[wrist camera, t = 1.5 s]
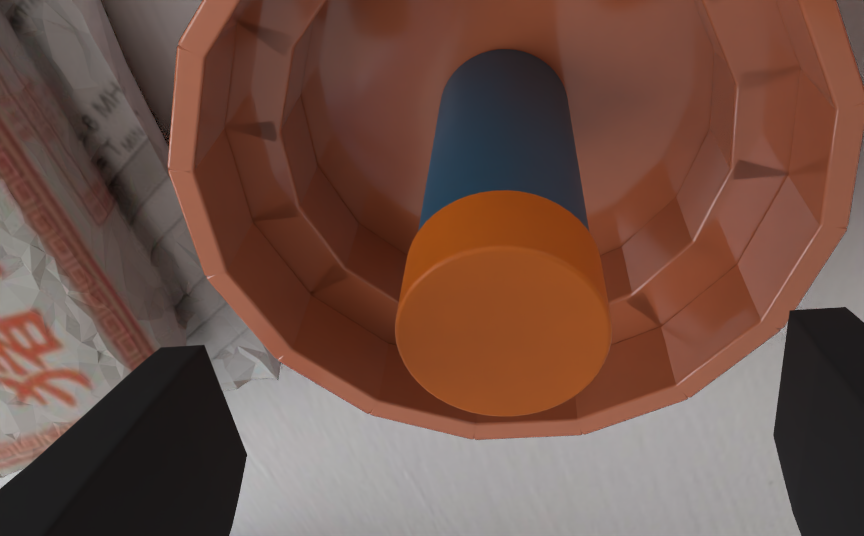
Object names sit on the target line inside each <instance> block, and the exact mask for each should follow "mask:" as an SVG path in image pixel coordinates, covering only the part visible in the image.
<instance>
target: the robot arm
mask: <svg viewBox="0 0 864 536" xmlns="http://www.w3.org/2000/svg"><path fill="white" fill-rule="evenodd" d="M774 440H775V444H776V448H777V452H778V456H779V460H780V464H781V468H782V472H783V477H784V480H785V484H786V488H787V492H788V496H789V499H790V503H791V507H792V511H793V514H794V517H795V520H796V522H797V525H798V528H799V530H800V533H801V535H802V536H864V322H862V321H861V320H860V319H859V318H858V317H857V316H855V315H854V314H853V313H852V312H851V311H849V310H848V309H847V308H846V307H841V308H824V309H807V310H790V312H789V319H788V327H787V335H786V343H785V350H784V358H783V366H782V373H781V381H780V389H779V397H778V404H777V412H776V420H775V427H774ZM246 457H247V454H246V451H245V448H244V446H243V443H242V441H241V438H240V435H239V433H238V430H237V428H236V425H235V423H234V420H233V417H232V415H231V412H230V410H229V407H228V405H227V402H226V399H225V397H224V394H223V392H222V389H221V386H220V384H219V381H218V379H217V376H216V374H215V371H214V368H213V366H212V363H211V361H210V358H209V356H208V353H207V350H206V348H205V345H193V346H176V347H160V348H159V349H158V350H157V351H155V352H154V353H153V354H152V355H151V356H149V357H148V358H147V359H146V360H145V361H143V362H142V363H141V364H140V365H139V366H138V367H136V368H135V369H134V370H133V371H132V372H131V373H130V374H129V375H127V376H126V377H125V378H124V379H123V380H122V381H121V382H120V383H119V384H118V385H116V386H115V387H114V388H113V389H112V390H111V391H110V392H109V393H108V394H107V395H105V396H104V397H103V398H102V399H101V400H100V401H99V402H98V403H97V404H96V405H95V406H93V407H92V408H91V409H90V410H89V411H88V412H87V413H86V414H85V415H84V416H83V417H81V418H80V419H79V420H78V421H77V422H76V423H75V424H74V425H73V426H71V427H70V428H69V429H68V430H67V431H66V432H65V433H64V434H63V435H61V436H60V437H59V438H58V439H57V440H56V441H55V442H54V443H53V444H52V445H50V446H49V447H48V448H47V449H46V450H45V451H44V452H43V453H42V454H40V455H39V456H38V457H37V458H36V459H35V460H34V461H33V462H32V463H30V464H29V465H28V466H27V467H26V468H25V469H23V470H22V471H21V472H20V473H19V474H17V475H16V476H15V477H14V478H13V479H11V480H10V481H9V482H8V483H7V484H6V485H4V486H3V487H2V488H1V489H0V536H229V534H230V531H231V528H232V524H233V520H234V516H235V511H236V507H237V502H238V498H239V493H240V488H241V483H242V478H243V473H244V468H245V462H246Z"/></svg>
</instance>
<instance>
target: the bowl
mask: <svg viewBox="0 0 864 536" xmlns="http://www.w3.org/2000/svg"><path fill="white" fill-rule="evenodd" d="M498 49H511V50H518V51H523V52H526V53H529V54H532V55H534V56H536V57H538V58H539V59H541V60H542V61H544V62H545V63H547V64H548V65H549V66H550V67H551V68H552V69H553V70H554V71H555V73H556V74H557V75H558V77H559V78H560V80H561V81H562V83H563V86H564V88H565V91H566V94H567V99H568V105H569V111H570V117H571V123H572V129H573V135H574V141H575V147H576V153H577V159H578V166H579V172H580V178H581V184H582V190H583V196H584V202H585V208H586V214H587V220H588V226H589V233H590V234H591V236H592V237H593V239H594V241H595V243H596V246H597V248H598V251H599V255H600V258H601V263H602V269H603V275H604V280H605V286H606V292H607V297H608V303H609V309H610V314H611V321H612V341H611V346H610V350H609V353H608V356H607V358H606V360H605V363H604V365H603V366H602V368H601V369H600V371H599V373H598V374H597V376H596V377H595V378H594V379H593V380H592V382H591V383H590V384H589V385H588V386H587V387H585V388H584V389H583V390H582V391H581V392H580V393H578V394H577V395H575V396H574V397H573V398H571V399H569V400H568V401H566V402H564V403H562V404H560V405H558V406H555V407H553V408H551V409H548V410H544V411H541V412H538V413H533V414H528V415H521V416H488V415H481V414H476V413H472V412H468V411H465V410H462V409H459V408H456V407H454V406H451V405H449V404H447V403H445V402H443V401H442V400H440V399H438V398H436V397H435V396H434V395H432V394H431V393H429V392H428V391H427V390H425V389H424V388H423V387H422V386H421V385H420V384H419V383H418V382H417V381H416V380H415V379H414V377H413V376H412V375H411V374H410V372H409V371H408V369H407V368H406V366H405V364H404V362H403V360H402V358H401V356H400V354H399V351H398V347H397V344H396V337H395V320H396V314H397V309H398V303H399V298H400V293H401V287H402V282H403V276H404V271H405V266H406V260H407V256H408V252H409V249H410V246H411V244H412V241H413V240H414V238H415V236H416V234H417V233H418V229H419V223H420V217H421V211H422V206H423V200H424V194H425V188H426V182H427V177H428V171H429V165H430V159H431V154H432V148H433V142H434V136H435V130H436V125H437V119H438V113H439V107H440V102H441V97H442V93H443V90H444V88H445V86H446V84H447V82H448V80H449V79H450V77H451V76H452V74H453V73H454V72H455V71H456V70H457V69H458V68H459V67H460V66H461V65H462V64H463V63H465V62H466V61H468V60H469V59H471V58H472V57H474V56H477V55H479V54H481V53H484V52H487V51H492V50H498ZM863 131H864V85H863V82H862V79H861V75H860V72H859V69H858V66H857V63H856V60H855V57H854V54H853V50H852V47H851V44H850V41H849V38H848V35H847V32H846V29H845V25H844V22H843V19H842V16H841V13H840V10H839V7H838V4H837V0H202V2H201V4H200V5H199V7H198V9H197V10H196V12H195V14H194V16H193V17H192V19H191V21H190V22H189V24H188V26H187V28H186V29H185V31H184V33H183V34H182V36H181V38H180V40H179V45H178V46H177V51H176V64H175V76H174V88H173V101H172V113H171V126H170V138H169V151H168V163H167V167H168V168H169V169H168V173H169V176H170V179H171V181H172V184H173V187H174V190H175V193H176V196H177V198H178V201H179V204H180V207H181V210H182V213H183V215H184V218H185V221H186V224H187V227H188V230H189V232H190V235H191V238H192V241H193V244H194V247H195V250H196V252H197V255H198V258H199V261H200V264H201V267H202V269H203V272H204V275H205V276H206V278H207V280H208V281H209V282H210V283H211V284H212V286H213V287H214V288H215V289H216V290H217V291H218V293H219V294H220V295H221V296H222V297H223V298H224V300H225V301H226V302H227V303H228V304H229V305H230V307H231V308H232V309H233V310H234V311H235V312H236V313H237V315H238V316H239V317H240V318H241V319H242V320H243V322H244V323H245V324H246V325H247V326H248V327H249V329H250V330H251V331H252V332H253V333H254V334H255V336H256V337H257V338H258V339H259V340H260V341H261V342H262V344H263V345H264V346H265V347H266V348H267V349H268V351H269V352H270V353H271V354H272V355H273V356H274V358H276V359H278V361H279V362H281V363H282V364H284V365H286V366H287V367H289V368H291V369H293V370H294V371H296V372H298V373H299V374H301V375H303V376H304V377H306V378H308V379H310V380H311V381H313V382H315V383H316V384H318V385H320V386H321V387H323V388H325V389H327V390H328V391H330V392H332V393H333V394H335V395H337V396H338V397H340V398H342V399H343V400H345V401H347V402H349V403H350V404H352V405H354V406H355V407H357V408H359V409H360V410H362V411H364V412H366V413H368V414H369V413H370V414H371V415H373V416H377V417H381V418H385V419H389V420H393V421H398V422H402V423H406V424H410V425H414V426H418V427H422V428H427V429H431V430H435V431H439V432H443V433H447V434H451V435H456V436H460V437H464V438H468V439H475V440H484V439H506V438H529V437H551V436H573V435H582V433H583V434H588V433H591V432H594V431H597V430H600V429H603V428H605V427H608V426H611V425H614V424H617V423H620V422H623V421H626V420H629V419H632V418H635V417H637V416H640V415H643V414H646V413H649V412H652V411H655V410H658V409H661V408H664V407H667V406H670V405H672V404H675V403H678V402H681V401H684V400H687V399H688V397H689V398H690V397H692V396H693V395H695V394H696V393H697V392H699V391H700V390H701V389H703V388H704V387H705V386H707V385H708V384H710V383H711V382H712V381H714V380H715V379H716V378H718V377H719V376H720V375H722V374H723V373H724V372H726V371H727V370H728V369H730V368H731V367H732V366H734V365H735V364H736V363H738V362H739V361H740V360H742V359H743V358H744V357H746V356H747V355H748V354H750V353H751V352H752V351H754V350H755V349H756V348H758V347H759V346H761V345H762V344H763V343H765V342H766V341H767V340H769V339H770V338H771V337H773V336H774V335H775V334H777V333H778V332H779V331H780V330H781V329H782V328H784V326H785V325H786V323H787V321H788V319H789V312H790V310H795V309H796V308H797V306H798V305H799V303H800V301H801V300H802V298H803V297H804V295H805V294H806V292H807V291H808V289H809V288H810V286H811V285H812V283H813V281H814V280H815V278H816V277H817V275H818V274H819V272H820V271H821V269H822V268H823V266H824V265H825V263H826V261H827V260H828V258H829V257H830V255H831V254H832V252H833V251H834V249H835V248H836V246H837V245H838V243H839V241H840V240H841V238H842V237H843V235H844V234H845V232H846V231H847V227H848V224H849V217H850V211H851V205H852V199H853V193H854V187H855V180H856V174H857V168H858V162H859V156H860V150H861V144H862V137H863Z"/></svg>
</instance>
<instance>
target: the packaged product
mask: <svg viewBox="0 0 864 536" xmlns="http://www.w3.org/2000/svg"><path fill="white" fill-rule="evenodd" d="M168 151H169V147H168V145H167V143H166V141H165V139H164V137H163V135H162V133H161V131H160V129H159V127H158V125H157V123H156V121H155V119H154V117H153V115H152V113H151V111H150V109H149V107H148V105H147V103H146V101H145V99H144V97H143V95H142V93H141V91H140V89H139V87H138V85H137V83H136V81H135V79H134V77H133V75H132V73H131V71H130V69H129V67H128V65H127V63H126V61H125V58H124V56H123V53H122V51H121V49H120V46H119V44H118V41H117V39H116V36H115V34H114V32H113V29H112V27H111V24H110V22H109V19H108V17H107V15H106V12H105V10H104V7H103V5H102V3H101V0H0V477H5V476H6V475H8V474H11V473H14V472H16V471H19V470H22V469H24V468H26V467H27V466H28V465H29V464H30V463H32V462H33V461H34V460H35V459H36V458H37V457H38V456H39V455H40V454H42V453H43V452H44V451H45V450H46V449H47V448H48V447H49V446H50V445H52V444H53V443H54V442H55V441H56V440H57V439H58V438H59V437H60V436H61V435H63V434H64V433H65V432H66V431H67V430H68V429H69V428H70V427H71V426H73V425H74V424H75V423H76V422H77V421H78V420H79V419H80V418H81V417H83V416H84V415H85V414H86V413H87V412H88V411H89V410H90V409H91V408H92V407H93V406H95V405H96V404H97V403H98V402H99V401H100V400H101V399H102V398H103V397H104V396H105V395H107V394H108V393H109V392H110V391H111V390H112V389H113V388H114V387H115V386H116V385H118V384H119V383H120V382H121V381H122V380H123V379H124V378H125V377H126V376H127V375H129V374H130V373H131V372H132V371H133V370H134V369H135V368H136V367H138V366H139V365H140V364H141V363H142V362H143V361H145V360H146V359H147V358H148V357H149V356H151V355H152V354H153V353H154V352H155V351H157V350H158V349H159V348H160V347H176V346H193V345H205V348H206V350H207V353H208V356H209V358H210V361H211V363H212V366H213V368H214V371H215V374H216V376H217V379H218V381H219V384H220V386H221V389H222V391H227V390H233V389H238V388H239V387H241V386H242V385H244V384H245V383H247V382H248V381H250V380H253V379H267V378H276V379H277V380H278V379H279V372H280V364H281V362H279V361H278V359H276V358H274V356H273V355H272V354H271V353H270V352H269V351H268V349H267V348H266V347H265V346H264V345H263V344H262V342H261V341H260V340H259V339H258V338H257V337H256V336H255V334H254V333H253V332H252V331H251V330H250V329H249V327H248V326H247V325H246V324H245V323H244V322H243V320H242V319H241V318H240V317H239V316H238V315H237V313H236V312H235V311H234V310H233V309H232V308H231V307H230V305H229V304H228V303H227V302H226V301H225V300H224V298H223V297H222V296H221V295H220V294H219V293H218V291H217V290H216V289H215V288H214V287H213V286H212V284H211V283H210V282H209V281H208V280H207V278H206V276H205V275H204V272H203V269H202V267H201V264H200V261H199V258H198V255H197V252H196V250H195V247H194V244H193V241H192V238H191V235H190V232H189V230H188V227H187V224H186V221H185V218H184V215H183V213H182V210H181V207H180V204H179V201H178V198H177V196H176V193H175V190H174V187H173V184H172V181H171V179H170V176H169V173H168V169H169V168H168V167H167V163H168Z"/></svg>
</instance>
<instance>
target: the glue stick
mask: <svg viewBox="0 0 864 536" xmlns="http://www.w3.org/2000/svg"><path fill="white" fill-rule="evenodd" d="M395 337H396V344H397V347H398V351H399V354H400V356H401V358H402V360H403V362H404V364H405V366H406V368H407V369H408V371H409V372H410V374H411V375H412V376H413V377H414V379H415V380H416V381H417V382H418V383H419V384H420V385H421V386H422V387H423V388H424V389H425V390H427V391H428V392H429V393H431V394H432V395H434V396H435V397H436V398H438V399H440V400H442V401H443V402H445V403H447V404H449V405H451V406H454V407H456V408H459V409H462V410H465V411H468V412H472V413H476V414H481V415H488V416H521V415H528V414H533V413H538V412H541V411H544V410H548V409H551V408H553V407H555V406H558V405H560V404H562V403H564V402H566V401H568V400H569V399H571V398H573V397H574V396H575V395H577V394H578V393H580V392H581V391H582V390H583V389H584V388H585V387H587V386H588V385H589V384H590V383H591V382H592V380H593V379H594V378H595V377H596V376H597V374H598V373H599V371H600V369H601V368H602V366H603V365H604V363H605V360H606V358H607V356H608V353H609V350H610V346H611V341H612V321H611V314H610V309H609V303H608V297H607V292H606V286H605V280H604V275H603V269H602V263H601V258H600V255H599V251H598V248H597V246H596V243H595V241H594V239H593V237H592V236H591V234H590V233H589V226H588V220H587V214H586V208H585V202H584V196H583V190H582V184H581V178H580V172H579V166H578V159H577V153H576V147H575V141H574V135H573V129H572V123H571V117H570V111H569V105H568V99H567V94H566V91H565V88H564V86H563V83H562V81H561V80H560V78H559V77H558V75H557V74H556V73H555V71H554V70H553V69H552V68H551V67H550V66H549V65H548V64H547V63H545V62H544V61H542V60H541V59H539V58H538V57H536V56H534V55H532V54H529V53H526V52H523V51H518V50H511V49H498V50H492V51H487V52H484V53H481V54H479V55H477V56H474V57H472V58H471V59H469V60H468V61H466V62H465V63H463V64H462V65H461V66H460V67H459V68H458V69H457V70H456V71H455V72H454V73H453V74H452V76H451V77H450V79H449V80H448V82H447V84H446V86H445V88H444V90H443V93H442V97H441V102H440V107H439V113H438V119H437V125H436V130H435V136H434V142H433V148H432V154H431V159H430V165H429V171H428V177H427V182H426V188H425V194H424V200H423V206H422V211H421V217H420V223H419V229H418V233H417V234H416V236H415V238H414V240H413V241H412V244H411V246H410V249H409V252H408V256H407V260H406V266H405V271H404V276H403V282H402V287H401V293H400V298H399V303H398V309H397V314H396V320H395Z"/></svg>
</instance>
